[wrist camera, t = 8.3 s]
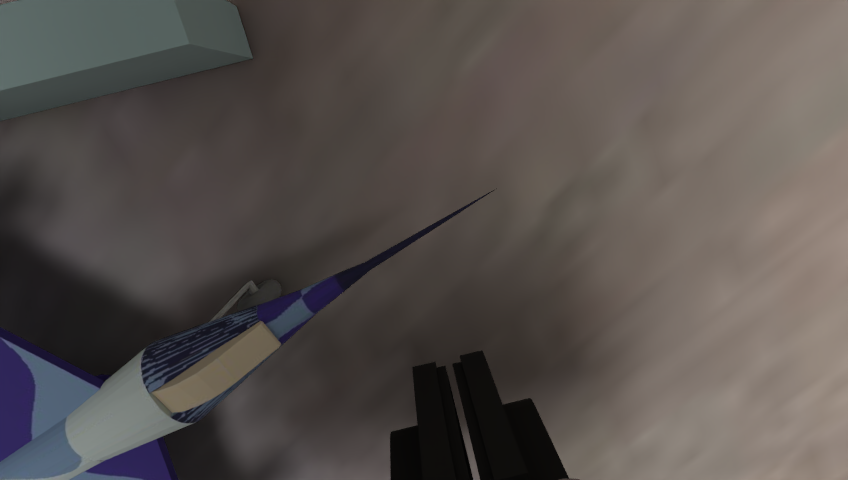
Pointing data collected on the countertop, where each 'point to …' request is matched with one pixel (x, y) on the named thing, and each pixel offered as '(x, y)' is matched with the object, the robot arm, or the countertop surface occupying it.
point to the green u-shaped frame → (108, 47)
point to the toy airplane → (146, 386)
